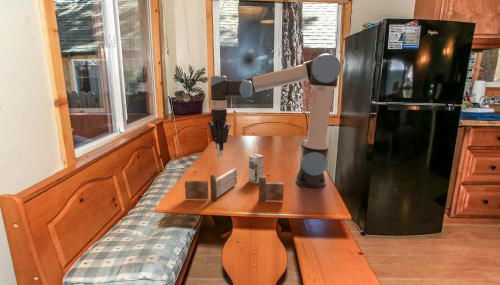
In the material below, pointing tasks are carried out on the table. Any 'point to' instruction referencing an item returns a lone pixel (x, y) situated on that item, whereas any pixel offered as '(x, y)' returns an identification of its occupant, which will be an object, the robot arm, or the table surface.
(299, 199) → the table surface
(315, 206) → the table surface
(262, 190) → the fence
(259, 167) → the syrup box
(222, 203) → the table surface
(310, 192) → the table surface
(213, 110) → the robot arm
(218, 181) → the gate
